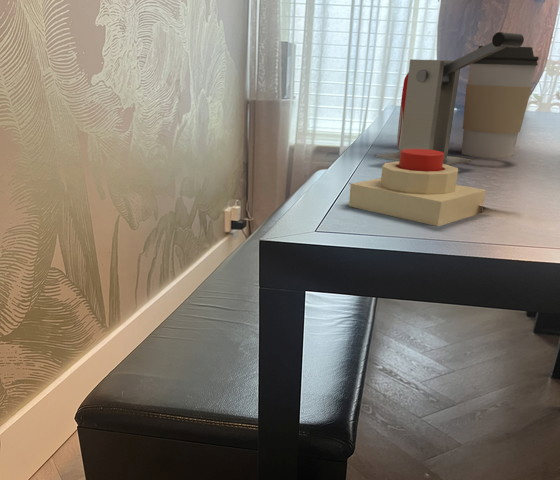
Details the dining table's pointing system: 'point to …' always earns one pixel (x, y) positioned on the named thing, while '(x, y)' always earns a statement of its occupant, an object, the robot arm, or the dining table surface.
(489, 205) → the dining table surface
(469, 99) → the coffee cup
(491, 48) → the lever
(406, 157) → the button
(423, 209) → the button block
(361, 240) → the dining table surface
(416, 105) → the bracket
